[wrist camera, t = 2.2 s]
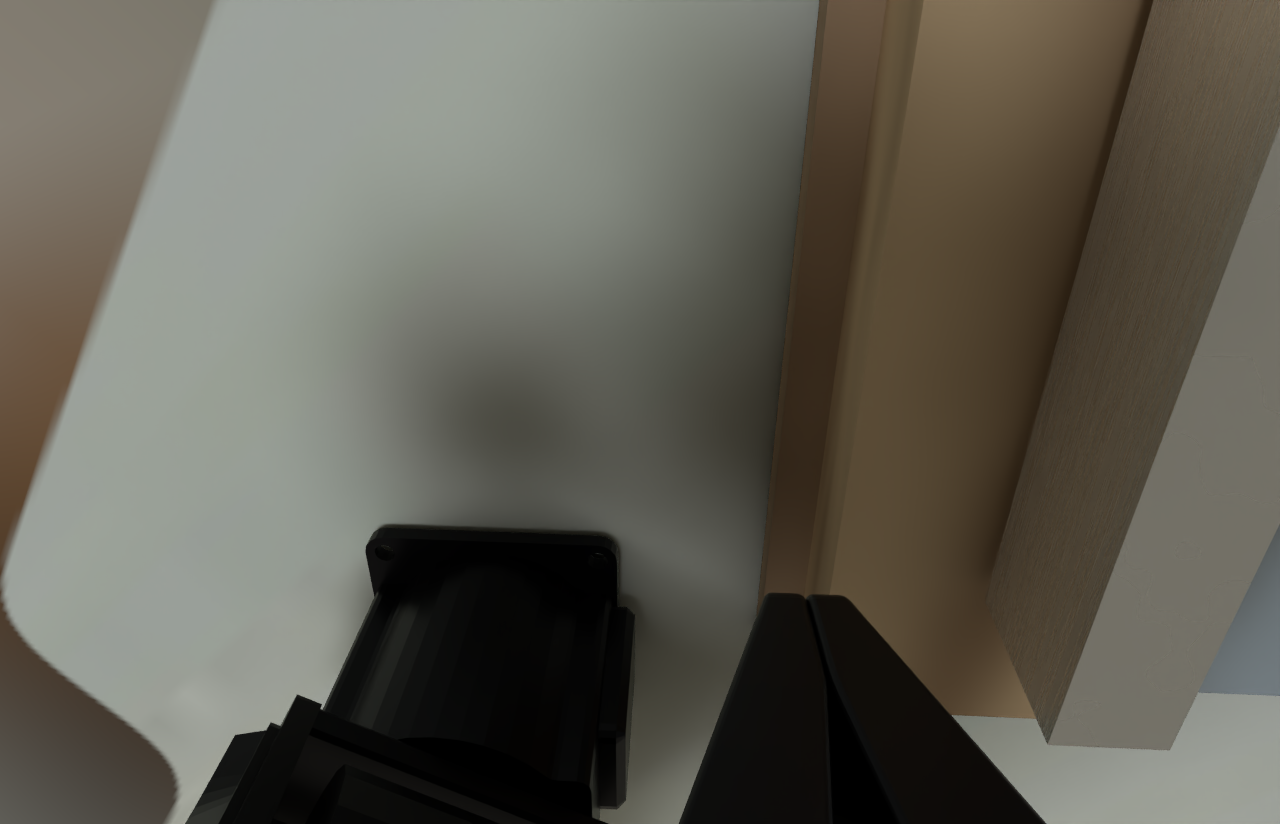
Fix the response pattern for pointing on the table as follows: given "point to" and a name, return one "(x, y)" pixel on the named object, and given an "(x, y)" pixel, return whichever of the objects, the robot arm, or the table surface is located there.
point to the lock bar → (1157, 397)
